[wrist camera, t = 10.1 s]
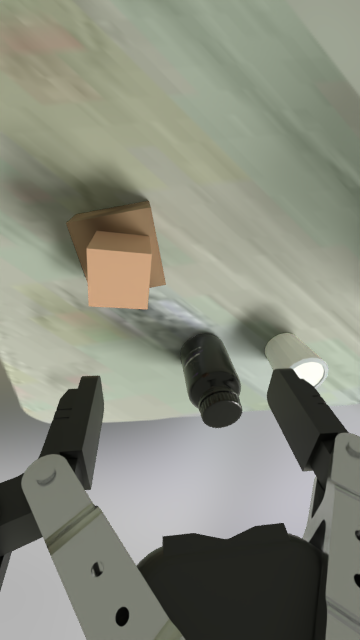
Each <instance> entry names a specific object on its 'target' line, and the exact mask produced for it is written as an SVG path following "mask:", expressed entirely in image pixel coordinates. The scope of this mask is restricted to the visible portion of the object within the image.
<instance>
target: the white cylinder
mask: <svg viewBox="0 0 360 640" xmlns="http://www.w3.org/2000/svg"><path fill="white" fill-rule="evenodd" d="M265 355H266V357H267V359H268V361H269V363H270V365H271V367H272V369H273V371H274V369H282V368H292V369H293V370H294V371H295V373H296V374H297V375H298V377H299V378H300V379H305V380H306V381H307V382H309V383H310V384H311V385H312V386H314V388H315V389H316V388H317V387H319V386H320V385H321V384H322V383H323V382H324V380H325V379H326V377H327V375H328V371H329V368H328V365H327V363H326V362H325V361H324V360H323V359H322V358H321V357H319V356H318V355H317V354H316V353H315V352H314V351H312V350H311V349H310V348H309V347H308V346H307V345H306V344H304V343H303V342H302V341H301V340H300V339H299V338H297V337H296V336H295V335H293V334H291V333H282V334H279V335H277V336H275V337H273V338H272V339H271V340H270V341H269V342H268V343H267V345H266V347H265Z"/></svg>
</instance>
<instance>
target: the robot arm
mask: <svg viewBox="0 0 360 640" xmlns="http://www.w3.org/2000/svg"><path fill="white" fill-rule="evenodd" d="M267 400H268V404H269V407H270V408H271V410H272V412H273V414H274V416H275V418H276V420H277V422H278V424H279V426H280V428H281V430H282V432H283V434H284V436H285V438H286V440H287V442H288V444H289V446H290V448H291V450H292V452H293V454H294V455H295V457H296V459H297V461H298V463H299V465H300V467H301V469H302V471H314V473H315V475H316V477H315V480H314V485H313V491H312V498H311V503H310V510H309V516H308V522H307V526H306V529H305V532H304V535H303V538H302V539H301V538H300V537H298V536H295V535H292V534H288V533H287V531H286V528H285V525H284V523H279V524H270V525H261V526H255V527H252V528H250V529H248V530H246V531H244V532H242V533H240V534H238V535H236V536H234V537H232V538H229V539H220V538H215V537H210V536H205V535H200V534H195V533H190V534H182V535H173V536H164V537H163V546H162V547H160V548H158V549H156V550H154V551H153V552H151V553H150V554H148V555H147V556H146V557H145V558H144V559H142V560H141V561H140V562H139V564H138V565H137V566H136V565H135V563H134V562H133V560H132V558H131V557H130V555H129V554H128V552H127V551H126V549H125V547H124V546H123V544H122V542H121V541H120V539H119V538H118V536H117V534H116V533H115V531H114V530H113V528H112V526H111V525H110V523H109V522H108V520H107V518H106V517H105V515H104V514H103V512H102V511H101V509H100V508H99V507H98V506H95V505H94V504H93V503H92V501H91V499H90V498H89V496H88V495H87V493H86V491H85V490H90V489H91V485H92V479H93V473H94V467H95V462H96V456H97V450H98V444H99V438H100V431H101V425H102V419H103V413H104V400H103V392H102V385H101V378H100V376H82V377H81V380H80V383H79V387H78V389H69V390H68V391H67V392H66V393H65V394H64V395H63V396H62V397H61V399H60V401H59V404H58V407H57V411H56V412H55V415H54V418H53V421H52V423H51V426H50V429H49V432H48V435H47V437H46V440H45V443H44V446H43V448H42V451H41V454H40V456H39V458H38V459H37V460H36V461H34V462H33V463H32V464H31V465H30V466H29V467H28V468H27V470H26V471H25V473H23V474H21V475H20V476H18V477H15V478H13V479H10V480H7V481H5V482H2V483H0V590H1V586H2V583H3V580H4V577H5V573H6V570H7V566H8V563H9V559H10V556H11V553H12V551H14V550H16V549H18V548H20V547H22V546H24V545H26V544H29V543H31V542H33V541H35V540H37V539H39V538H41V537H43V538H44V540H45V543H46V545H47V548H48V550H49V553H50V555H51V558H52V560H53V562H54V564H55V567H56V569H57V571H58V574H59V576H60V578H61V581H62V583H63V585H64V587H65V590H66V592H67V594H68V597H69V599H70V601H71V604H72V606H73V609H74V611H75V613H76V616H77V618H78V620H79V623H80V625H81V627H82V630H83V632H84V634H85V637H86V639H87V640H360V437H359V436H357V435H354V434H351V433H348V431H347V430H346V429H345V428H344V426H343V425H342V424H341V422H340V421H339V419H338V418H337V417H336V416H335V414H334V413H333V411H332V410H331V409H330V407H329V406H328V405H326V402H325V401H324V400H323V398H322V397H320V394H319V393H318V392H317V390H316V389H315V388H314V386H312V385H311V384H310V383H309V382H307V381H306V380H305V379H300V378H299V377H298V375H297V374H296V373H295V371H294V370H293V369H292V368H282V369H274V371H273V374H272V377H271V381H270V384H269V388H268V392H267Z"/></svg>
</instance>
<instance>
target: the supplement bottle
mask: <svg viewBox="0 0 360 640" xmlns="http://www.w3.org/2000/svg"><path fill="white" fill-rule="evenodd" d="M181 362H182V367H183V372H184V377H185V382H186V387H187V392H188V396H189V399H190V401H191V402H192V404H193V405H194V406H195V407H197V408H198V409H199V411H200V413H201V417H202V419H203V422H204V423H205V424H206V425H208V426H210V427H213V428H221V427H226V426H228V425H231V424H233V423H235V422H236V421H237V420H238V419H239V418H240V416H241V414H242V406H241V404H240V400H239V395H240V391H241V383H240V380H239V378H238V375H237V373H236V371H235V368H234V366H233V364H232V362H231V359H230V357H229V355H228V353H227V350H226V348H225V346H224V344H223V342H222V341H221V340H220V339H219V338H218V337H216V336H214V335H211V334H200V335H196V336H194V337H192V338H190V339H189V340H188V341H187V342H186V343H185V344H184V345H183V347H182V349H181Z"/></svg>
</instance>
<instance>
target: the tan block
mask: <svg viewBox="0 0 360 640" xmlns="http://www.w3.org/2000/svg"><path fill="white" fill-rule="evenodd" d="M151 259H152V252H151V245H150V238H149V236H143V235H133V234H124V233H114V232H104V231H96V233H95V235H94V236H93V238H92V240H91V242H90V243H89V245H88V247H87V273H88V298H89V306H94V307H112V308H131V309H148V296H149V284H150V271H151Z"/></svg>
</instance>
